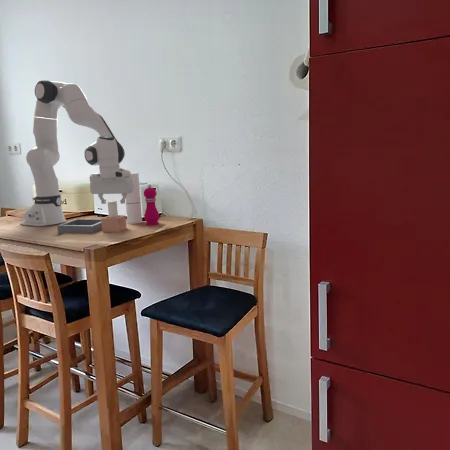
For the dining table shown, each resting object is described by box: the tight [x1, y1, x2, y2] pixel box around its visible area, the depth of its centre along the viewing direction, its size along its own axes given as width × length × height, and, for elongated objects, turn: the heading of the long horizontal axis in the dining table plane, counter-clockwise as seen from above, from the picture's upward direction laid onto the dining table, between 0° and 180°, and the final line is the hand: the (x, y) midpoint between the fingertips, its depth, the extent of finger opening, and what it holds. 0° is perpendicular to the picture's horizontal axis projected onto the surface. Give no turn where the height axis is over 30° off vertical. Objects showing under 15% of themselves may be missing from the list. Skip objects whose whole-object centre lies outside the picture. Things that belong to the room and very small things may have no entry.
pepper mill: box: [143, 184, 160, 227], centre depth 224 cm, size 7×7×20 cm
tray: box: [56, 218, 102, 235], centre depth 222 cm, size 18×16×4 cm
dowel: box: [107, 200, 119, 218], centre depth 215 cm, size 4×4×13 cm
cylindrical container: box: [125, 171, 143, 225], centre depth 230 cm, size 7×7×25 cm
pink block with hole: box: [100, 214, 128, 233], centre depth 216 cm, size 8×8×7 cm
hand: (113, 203), depth 214 cm, fingers open, 8 cm apart
